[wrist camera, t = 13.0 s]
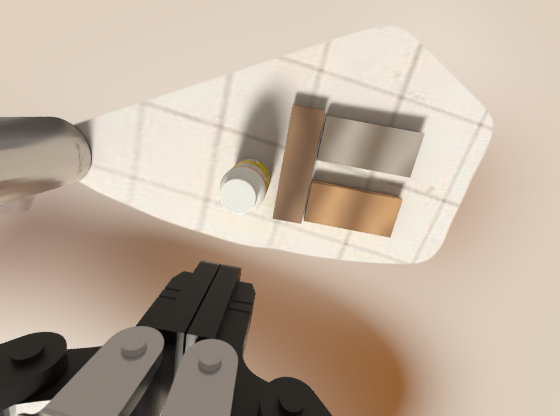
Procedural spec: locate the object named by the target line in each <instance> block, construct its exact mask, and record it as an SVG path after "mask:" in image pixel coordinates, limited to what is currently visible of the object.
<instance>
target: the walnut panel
mask: <svg viewBox="0 0 560 416" xmlns="http://www.w3.org/2000/svg"><path fill="white" fill-rule="evenodd" d="M324 115H325V111H323V110H318V109H312V108H307V107H302V106H296V105H293V107H292V113H291V118H290V124H289V130H288V135H287V141H286V146H285V152H284V158H283V163H282V169H281V175H280V180H279V186H278V191H277V197H276V203H275V208H274V214H273V219H278V220H283V221H289V222H294V223H300V224H301V222H302V217H303V213H304V208H305V203H306V199H307V194H308V189H309V185H310V180H311V175H312V171H313V166H314V161H315V157H316V152H317V147H318V143H319V138H320V133H321V129H322V124H323V119H324Z"/></svg>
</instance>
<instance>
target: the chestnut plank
mask: <svg viewBox="0 0 560 416" xmlns="http://www.w3.org/2000/svg"><path fill="white" fill-rule="evenodd" d="M401 203H402V199H401V198H400V197H399V196H393V195H388V194H383V193H378V192H372V191H367V190H362V189H357V188H351V187H346V186H341V185H335V184H330V183H325V182H320V181H314V180H312V182H311V187H310V192H309V196H308V201H307V205H306V210H305V215H304V221H307V222H312V223H318V224H323V225H328V226H333V227H338V228H344V229H349V230H354V231H359V232H364V233H370V234H375V235H380V236H385V237H391V233H392V230H393V227H394V224H395V221H396V218H397V215H398V212H399V209H400V206H401Z"/></svg>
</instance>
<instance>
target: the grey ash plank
mask: <svg viewBox="0 0 560 416" xmlns="http://www.w3.org/2000/svg"><path fill="white" fill-rule="evenodd" d="M423 137H424V133H419V132H413V131H408V130H402V129H397V128H392V127H386V126H381V125H375V124H370V123H364V122H359V121H354V120H348V119H343V118H337V117H332V116H326V117H325V122H324V127H323V131H322V136H321V141H320V145H319V150H318V154H317V160H320V161H325V162H330V163H336V164H341V165H346V166H351V167H357V168H362V169H367V170H373V171H378V172H383V173H389V174H394V175H399V176H405V177H410V176H411V173H412V170H413V167H414V164H415V161H416V158H417V155H418V152H419V149H420V146H421V143H422V140H423Z"/></svg>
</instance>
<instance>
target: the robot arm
mask: <svg viewBox="0 0 560 416" xmlns="http://www.w3.org/2000/svg"><path fill="white" fill-rule="evenodd" d="M90 165H91V154H90V149H89V146H88V143H87V141H86V140H85V138H84V136H83V135H82V134H81V132H80V131H79V130H78V129H77V128H76V127H74V126H73V125H72V124H70V123H68V122H67V121H65V120H63V119H60V118H56V117H0V205H3V204H6V203H10V202H13V201H16V200H19V199H23V198H26V197H29V196H32V195H36V194H39V193H42V192H45V191H49V190H52V189H55V188H59V187H62V186H65V185H69V184H72V183H75V182H77V181H79V180H81V179H82V178H83V177H84V176H86V174H87V172H88V171H89V168H90ZM240 276H241V268H239V267H233V266H228V265H223V264H222V265H221V264H217V263H212V262H206V261H201V262H200V263H199V265H198V266H197V268H196V269H195V271H194V272H193V273H190V272H185V271H184V272H182V273H180V274H179V275H177V276H175V277H173V278H172V279H171V281H170V282H169V283H168V284H167V286H166V287H165V289H164V290H163V291H162V292H161V294H160V295H159V297H158V298H157V299H156V300H155V302H154V303H153V304H152V306H151V307H150V308H149V309H148V311H147V312H146V313H145V315H144V316H143V317H142V319H141V320H140V321H139V323H138V324H137V325H136V327H131V328H127V329H125V330H122V331H120V332H118V333H116V334H115V335H114V336H112V337H111V338H110V339H109V340H108V341H107V342H106V343H105V344H104V345H103V346H99V347H91V348H80V349H67V343H66V340H65V339H64V337H63V336H61V335H59V334H57V333H53V332H39V333H33V334H28V335H25V336H22V337H19V338H16V339H14V340H11V341H8V342H5V343H2V344H0V416H160V414H161V416H332V415H331V414H330V412H329V411H328V410H327V408H326V407H325V406H324V405H323V403H322V402H321V401H320V399H319V398H318V397H317V395H316V394H315V393H314V391H313V390H312V389H311V388H310V387H309V386H308V385H307V384H305V383H304V382H302V381H300V380H298V379H295V378H292V377H281V378H277V379H274V380H273V381H271V382H267V381H265V380H263V379H261V378H259V377H258V376H256V375H255V374H253V373H252V372H251V371H250V370H249V369H248V367H247V366H246V364H245V362H244V360H243V354H244V350H245V346H246V341H247V336H248V332H249V328H250V322H251V316H252V310H253V305H254V299H255V291H254V289H253V285H252V284H251V283H244V282H240ZM163 407H164V408H163ZM161 412H162V413H161Z"/></svg>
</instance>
